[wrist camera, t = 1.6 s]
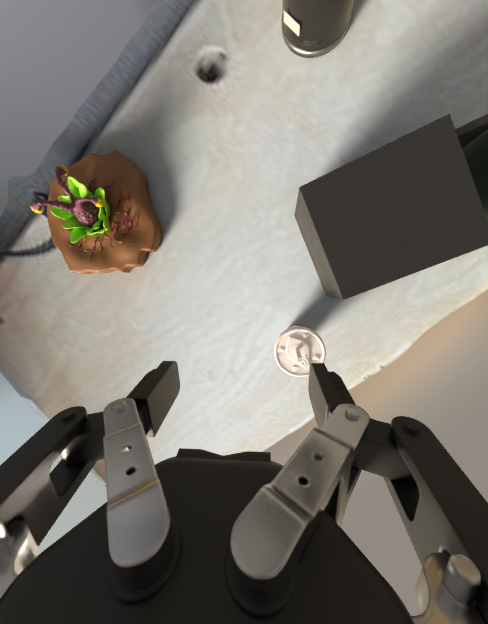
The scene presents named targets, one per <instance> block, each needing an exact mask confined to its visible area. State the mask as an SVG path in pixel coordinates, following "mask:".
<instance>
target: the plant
mask: <svg viewBox="0 0 488 624" xmlns="http://www.w3.org/2000/svg"><path fill="white" fill-rule="evenodd" d="M55 172H56V177H55V178H54V179H53V180H52V181H51V183H50V192H49V198H48V201H47V200H44V201H41V200H38V201H33V202H31V203H30V207H31V209H32V210H33V211H34V212H36V213H42V212H43V211H44V206H43V205H46V206H47V213H48V223H49V227H50V231H51V235H52V240H53V243H54V245H55V246H56V247H57V248H58V249H59V250H60V251H61V252H62V254H63V257H64V259H65V261H66V263H67V265H68V267H69V269H70V271H72V272H77V273H83V274H91V273H95V272H101V273H107V272H112V271H116V270H119V271H121V272H127V273H129V272H130V271H131V269H132V268H133V267H136V266H143V265H144V263H145V260H146V255H147V253H148V252H156V251H157V249H158V247H159V244H160V241H161V227H160V224H159V221H158V219H157V217H156V215H155V213H154V211H153V209H152V205H151V202H150V198H149V194H148V189H147V179H146V177H145V176H144V175H143V174H142V173H141V171H140V170H139V169H138V167H137V166H136V165H135V164H133V163H132V162H131V161H130V160H128V159H126V158H125V157H124V156H123V155H121V154H120V153H119V152H118V151H116V150H114V151H113V152H112V153H111V154H109V155H107V156H97V155H95V154H89V155H87V156H85V157H84V158H83V159H81V160H80V161H78V162H77V163H75V164H73V165H72V166H70V167H68V168H67V167H65V166H63V165H59V166H57V167H56V170H55Z"/></svg>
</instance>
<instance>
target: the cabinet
mask: <svg viewBox="0 0 488 624" xmlns="http://www.w3.org/2000/svg"><path fill="white" fill-rule="evenodd" d="M295 218H296V220H297V223H298V225H299V228H300V231H301V233H302V236H303V238H304V241H305V243H306V246H307V248H308V251H309V253H310V256H311V258H312V261H313V263H314V266H315V269H316V271H317V274H318V276H319V279H320V281H321V284H322V286H323V289H324V291H325V294H326V296H329V297H333V298H338V299H342V300H344V299H347V298H350V297H352V296H355V295H358V294H360V293H363V292H366V291H368V290H371V289H373V288H376V287H379V286H381V285H384V284H387V283H389V282H392V281H395V280H397V279H400V278H403V277H405V276H408V275H410V274H413V273H416V272H418V271H421V270H424V269H426V268H429V267H432V266H434V265H437V264H439V263H442V262H445V261H447V260H450V259H453V258H455V257H458V256H461V255H463V254H466V253H469V252H471V251H474V250H476V249H479V248H482V247H484V246H487V245H488V219H487V217H486V214H485V211H484V208H483V206H482V203H481V200H480V197H479V194H478V192H477V189H476V186H475V183H474V180H473V178H472V175H471V172H470V169H469V167H468V164H467V161H466V158H465V155H464V153H463V150H462V147H461V144H460V141H459V139H458V136H457V133H456V130H455V128H454V125H453V122H452V119H451V116H450V114H448V115H446V116H444V117H442V118H440V119H438V120H436V121H434V122H432V123H430V124H428V125H426V126H424V127H422V128H420V129H418V130H416V131H414V132H411V133H409V134H407V135H405V136H403V137H401V138H399V139H397V140H395V141H393V142H391V143H389V144H387V145H385V146H383V147H381V148H379V149H377V150H375V151H373V152H371V153H369V154H367V155H365V156H363V157H360V158H358V159H356V160H354V161H352V162H350V163H348V164H346V165H344V166H342V167H340V168H338V169H336V170H334V171H332V172H330V173H328V174H326V175H324V176H322V177H320V178H318V179H316V180H314V181H312V182H309V183H307V184H305V185H303V186H301V187H299V193H298V199H297V205H296V211H295Z"/></svg>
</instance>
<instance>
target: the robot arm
mask: <svg viewBox="0 0 488 624" xmlns="http://www.w3.org/2000/svg"><path fill="white" fill-rule="evenodd" d="M354 1H355V0H283V14H282V33H283V38H284V40H285V43H286V44H287V46H288V47H289V49H290V50H291V51H292V52H294V53H295V54H297V55H299V56H302V57H307V58H313V57H318V56H322V55H324V54H326V53H328V52H329V51H331V50H332V49H333V48H335V47H336V46H337V45H338V44H339V43H340V41H341V40H342V39H343V37H344V35H345V34H346V32H347V29H348V27H349V23H350V20H351V16H352V9H353V4H354ZM179 390H180V380H179V373H178V366H177V362H176V361H163V362H162V363H161V364H160V365H159V367H158V368H157V369H153V370H152V371H150V372H149V373H147V374H146V375H145V376H144V377H143V379H142V380H141V381H140V382H139V383H138V385H137V386H136V387H135V388H134V389H133V390H132V391H131V392H130V394H129V395H128V396H127V397H126V398H122V399H118V400H116V401H114V402H112V403H110V404H109V405H108V406H106V408H105V409H104V411H103V412H99V413H93V414H88V415H87V412H86V409H85V408H84V407H81V406H76V407H71V408H68V409H66V410H63V411H61V412H60V413H58V414H57V415H55V416H54V417H53V418H52V419H51V420H50V421H49V422H48V423H46V424H45V425H44V426H43V427H42V428H41V429H40V430H39V431H38V432H37V433H36V434H34V436H32V437H31V438H30V439H29V440H28V441H27V442H26V443H24V444H23V445H22V446H21V447H20V448H19V449H18V450H17V451H16V452H15V453H14V454H12V455H11V456H10V457H9V458H8V459H7V460H6V461H5V462H4V463H3V464H1V466H0V624H488V503H487V502H486V500H485V499H484V498H483V496H482V495H481V494H480V493H479V491H478V490H477V489H476V488H475V486H474V485H473V484H472V482H471V481H470V480H469V479H468V477H467V476H466V475H465V474H464V472H463V471H462V470H461V468H460V467H459V466H458V465H457V463H456V462H455V461H454V460H453V458H452V457H451V456H450V454H449V453H448V452H447V451H446V449H445V448H444V447H443V446H442V444H441V443H440V442H439V440H438V439H437V438H436V437H435V435H434V434H433V433H432V431H431V430H430V429H429V428H428V427H426V425H424V424H423V423H421V422H419V421H417V420H415V419H413V418H410V417H404V416H399V417H395V418H393V420H392V422H391V424H388V423H384V422H380V421H376V420H374V419H371V418H370V417H369V415H368V413H367V412H366V411H365V410H364V409H362V408H361V407H359V406H357V405H356V404H355V402H354V401H353V399H352V397H351V395H350V393H349V392H348V390H347V388H346V386H345V384H344V382H343V381H342V379H341V377H340V376H339V375H337V374H336V373H335V372H328V371H327V368H326V366H325V364H324V363H310V370H309V397H310V400H311V404H312V407H313V411H314V414H315V418H316V421H317V424H318V428H319V429H317V428H313V429H312V430H311V432H310V433H309V434H308V436H307V437H306V438H305V440H304V441H303V442H302V444H301V445H300V446H299V447H298V449H297V450H296V451H295V453H294V454H293V455H292V456H291V458H290V459H289V460H288V462H287V463H286V464H285V465H284V466H283V465H281V464H279V463H276V462H273V461H271V460H270V459H271V458H270V453H269V452H268V453H267V452H248V451H247V452H242V453H237V454H231V455H226V456H222V455H218V454H215V453H211V452H208V451H205V450H201V449H180V448H179V451H178V453H177V456H176V457H172V458H169V459H166V460H164V461H161V462H160V463H158V464H156V465H154V462H153V458H152V455H151V452H150V448H149V445H148V441H147V438H146V437H155V435H156V433H157V432H158V430H159V428H160V426H161V424H162V422H163V421H164V419H165V417H166V415H167V413H168V412H169V410H170V408H171V406H172V404H173V403H174V401H175V399H176V397H177V395H178V393H179ZM60 454H61V455H62V458H63V459H62V460H61V461H60V462H59V464H58V465H57V466H56V467H55V468H54V470H53V471H52V472H51V473H50V474H49V472H50V468H51V466H52V464H53V462H54V461H55V460H56V458H57V457H58V456H59V455H60ZM104 458H105V472H106V486H107V500H108V501H107V502H106V503H105V504H104V505H102V506H101V507H100V508H98V509H97V510H96V511H95V512H93V513H92V514H91V515H89V516H88V517H87V518H86V519H84V520H83V521H82V522H81V523H79V524H78V525H77V526H75V527H74V528H73V529H71V530H70V531H69V532H67V533H66V534H65V535H64V536H62V537H61V538H60V539H59V540H57V541H56V542H55V543H53V544H52V545H51V546H49V547H48V548H47V549H46V550H44V551H43V552H42V553H41V554H39V555H38V546H39V545H40V543H41V542H42V540H43V539H44V537H45V536H46V534H47V533H48V531H49V530H50V529H51V527H52V526H53V524H54V523H55V521H56V520H57V518H58V517H59V515H60V514H61V513H62V511H63V510H64V508H65V507H66V505H67V504H68V502H69V501H70V499H71V498H72V496H73V495H74V493H75V492H76V491H77V489H78V487H79V486H80V485H81V483H82V482H83V480H84V479H85V478H86V476H87V475H88V473H89V472H90V470H91V469H92V467H93V466H94V464H95V463H96V461H97V460H100V459H104ZM361 470H365V471H368V472H371V473H374V474H377V475H380V476H383V477H384V480H385V482H386V484H387V487H388V489H389V491H390V494H391V496H392V498H393V500H394V503H395V505H396V507H397V510H398V512H399V514H400V516H401V519H402V521H403V523H404V526H405V528H406V530H407V533H408V535H409V537H410V540H411V542H412V544H413V546H414V549H415V551H416V553H417V556H418V558H419V560H420V563H421V565H422V569H421V572H420V575H419V579H418V582H417V586H416V597H417V601H418V605H419V609H420V615H417V616H410V614H409V612H408V611H407V609H406V607H405V605H404V604H403V602H402V601H401V599H400V598H399V596H398V595H397V593H396V592H395V591H394V590H393V588H392V587H391V586H390V585H389V583H388V582H387V581H386V580H385V579H384V577H382V575H381V574H380V573H379V572H378V571H377V569H376V568H375V567H374V566H373V565H372V563H371V562H370V561H369V560H368V559H367V558H366V557H365V555H364V554H363V553H362V552H361V551H360V550H359V548H358V547H357V546H356V545H355V544H354V543H353V542H352V541H351V539H350V538H349V537H348V536H347V534H346V533H345V532H344V531H343V530H342V529H341V527H340V526H341V523H342V520H343V517H344V513H345V509H346V506H347V503H348V500H349V498H350V496H351V493H352V491H353V489H354V487H355V484H356V482H357V480H358V477H359V475H360V473H361ZM37 555H38V556H37Z"/></svg>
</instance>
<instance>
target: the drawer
mask: <svg viewBox="0 0 488 624" xmlns="http://www.w3.org/2000/svg"><path fill="white" fill-rule="evenodd" d="M455 130H456V133H457V136H458V139H459V141H460V144H461V147H462V150H463V153H464V155H465V158H466V161H467V164H468V167H469V169H470V172H471V175H472V178H473V180H474V183H475V186H476V189H477V192H478V194H479V197H480V200H481V203H482V206H483V208H484V211H485V214H486V217H487V219H488V114H487V115H484V116H482V117H480V118H478V119H476V120H474V121H472V122H470V123H468V124H466V125H463V126H461V127H459V128H457V129H455Z"/></svg>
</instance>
